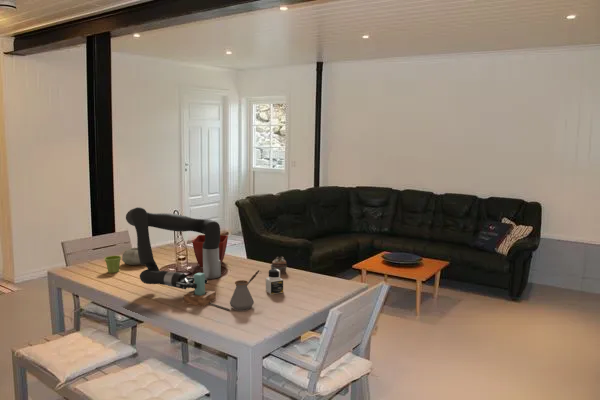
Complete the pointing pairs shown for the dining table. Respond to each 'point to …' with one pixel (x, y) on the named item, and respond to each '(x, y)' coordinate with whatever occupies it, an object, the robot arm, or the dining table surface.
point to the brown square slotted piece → (199, 298)
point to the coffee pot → (242, 295)
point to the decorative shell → (131, 257)
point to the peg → (199, 283)
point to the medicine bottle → (274, 282)
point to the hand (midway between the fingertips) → (201, 284)
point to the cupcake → (279, 265)
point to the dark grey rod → (219, 306)
